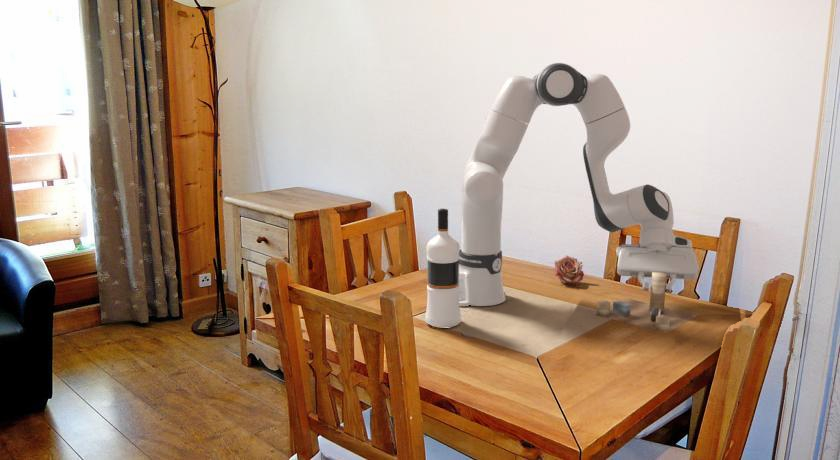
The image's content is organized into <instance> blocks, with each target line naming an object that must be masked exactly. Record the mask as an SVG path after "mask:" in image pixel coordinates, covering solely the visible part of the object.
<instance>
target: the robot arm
mask: <svg viewBox="0 0 840 460" xmlns="http://www.w3.org/2000/svg"><path fill="white" fill-rule="evenodd" d="M541 105H548V106H552V107H560V106H561V107H562V106H567V105H573V106H575V108H576V109H577V110H578V112H579V113H580V115H581V119H582V120H583V123H584V125H585V128H586V142H585V143H584V145H583V147H582V155H583V162H584V165H585V166H584V167H585V171H586V177H587V179H588V184H589V188H590V192H591V197H592V202H593V210H594V217H595V221H596V223H597V225H598V226H599V227H600V228H602V229H603V230H605V231H608V232H609V233H615V232H619V231H621V230H623V229H626V228H628V227H633V226H636V225H639V226H640V229H641V230H640V233H639V244H638V243H637V244H636V243H633V244H632V243H631V244H628V243H622V244H621V245H618V246H617V247H616V251H615V253H616V254H615V256H616V257H617V258H618V260H617V266H616V267H617V268H616V273H617V274H618V275H619V276H620V277H633V278H636V277H637V280H638V282H639V284H640V285H641V286H642V287H641V288H642V289H641V290H642V291H643V292H649V287H650V286H649V282H646V281H645V279H644V278H652V272H665V273H666V274H667V276H666V279H669V283H666V288H665V289H666V290H665V293H672V289H673V286H674V285H675V283H676V280H688V281H689V280H691V281H693V280H695V279H696V278H697V277H698V275H699V265H698V264H699V263H698V259H697V255H696V252H695V251H694V250H693V242H692V240H691V239H690V238H689V239H688V238H684V237H683V236H679V235H676V234H674V231H673V227H674V209H673V204H672V201H671V198H670V196H669V195H668V193H666V192H665V191H662V190H660V189H659V188H657V187H655V186H654V185H651V184H643V185H640V186H639V185H638V186H636V187H632V188H629V189H628V190H627V189H626V190H625V191H621V192H618V193H612V192H611V191H610V187H609V182H608V178H607V174H606V170H605V168H606V167H605V162H606V160H607V158H608V157H609V155H610V154H611V153H613V152H614V151H615V150H616V149H617V148H618V147H619V146H620V145H622V143H623V142H624V141H625V140H626V139H627V138H628V135H629V132H630V130H631V121H630V117H629V114H628V110H627V109H626V107H625V104H624V102H623V99H622V97H621V95H620V94H619V91H618V90H617V88H616V87H615V85H614V84H613V82H612V80H611V79H610V78H609V77H608V76H607V75H605V74H602V73H594V74H590V75H588V76H585V75H584V74H582V73H581V72H580V71H578V70H577V69H576V68H574V67H573V66H571V65H570V64H568V63H562V62H555V63H551V64H549V65H547V66H545V67H544V68H543V69H542V70H541V71H539V73H537V74H536V75H534V77H532V78H531V77H526V76H524V75H513V76H510V77H508V78H507V80H506V81H504V83H503V85H502V87H501V88H500V90H499V91H498V93H497V95H496V97H495V99H494V101H493V103H492V105H491V108H490V109H489V113H488V115H487V118H486V120H485V121H484V125H483V127H482V129H481V132H480V133H479V136H478V139H477V141H476V143H475V145H474V147H473V149H472V152H471V153H470V157H469V159H467V160H468V161H467V162H466V165H465V167H464V170H463V172H462V174H461V242H460V243H461V247H460V248H461V249H460V252H459V256H460V258H459V286H460V288H459V305H460V307H469V305H471V306H472V307H473V306H474V307H488V306H489V307H490V306H496V305H500V304H502V303H504V302H505V301H506V294H505V291H504V286H503V279H502V278H503V277H502V265H503V251H502V250H501V248H502V247H501V245H502V217H503V216H502V215H503V199H504V198H503V197H504V181H503V179H504V177H505V175H506V172H507V171H508V169H509V166H510V165H511V163H512V161H513V159H514V158H515V157H516V156H515V155H517V152H518V151H519V148H520V145H521V143H522V141H523V138H524V137H525V134H526V132H527V129H528V127H529V124H530V122H531V119H532V118H533V115H534V113H535V111H536V110H537V108H539V107H540V106H541ZM471 306H470V307H471Z"/></svg>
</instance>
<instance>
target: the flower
mask: <svg viewBox="0 0 840 460" xmlns="http://www.w3.org/2000/svg"><path fill="white" fill-rule="evenodd" d="M582 269H583V261H579V260H578V259H577V258H575V257H574V256H569V255H564V256H563V257H562V258H559V259H557V260H555V261H554V270H555V276H556V277H557V279H559V280H560V282H561V284H560V286H562V285H563V284H567V283H571V284H572V285H575V286H577V284H578V282H581V281H583V280H584V276H585V275H584V273H585V272H584V270H582Z"/></svg>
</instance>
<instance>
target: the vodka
mask: <svg viewBox="0 0 840 460" xmlns="http://www.w3.org/2000/svg"><path fill="white" fill-rule="evenodd" d="M460 248H461V247H460V243H459V242H458V240H457V239H455V238H454V237H452V236H451V235H449V209H447V208H438V209H437V235H435V236H433V237H432V238H431V239H430V240H428V242H427V245H426V248H425V249H426V260H427V261H426V263H427V265H426V266H427V286H426V290H427V291H426V292H427V299H426V311H425V315H424V316H425V317H424V318H425V319H424V320H425V323H426V324H427V323H428V324H430V325H432V326H436V327H453V326H456V325H457V326H459V325H460V324H461V322H462V313H461V309H460V307H461V306H460V305H459V288H460V286H459V258H460V256H459V252H460V250H461V249H460ZM459 323H460V324H459ZM428 324H427V325H428ZM458 324H459V325H458ZM457 326H456V327H457ZM453 328H454V327H453Z"/></svg>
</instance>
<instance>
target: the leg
mask: <svg viewBox="0 0 840 460" xmlns="http://www.w3.org/2000/svg"><path fill="white" fill-rule="evenodd" d="M666 276H667V274H666V273H665V272H652V277H651V281H650V298H649V303H650V311H651V314H650V318H651V321H656V316H657V315H660V314H661V312H663V311H664V307H665V302H666V292H665V290H666V289H665V288H666V284H667V278H666Z"/></svg>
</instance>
